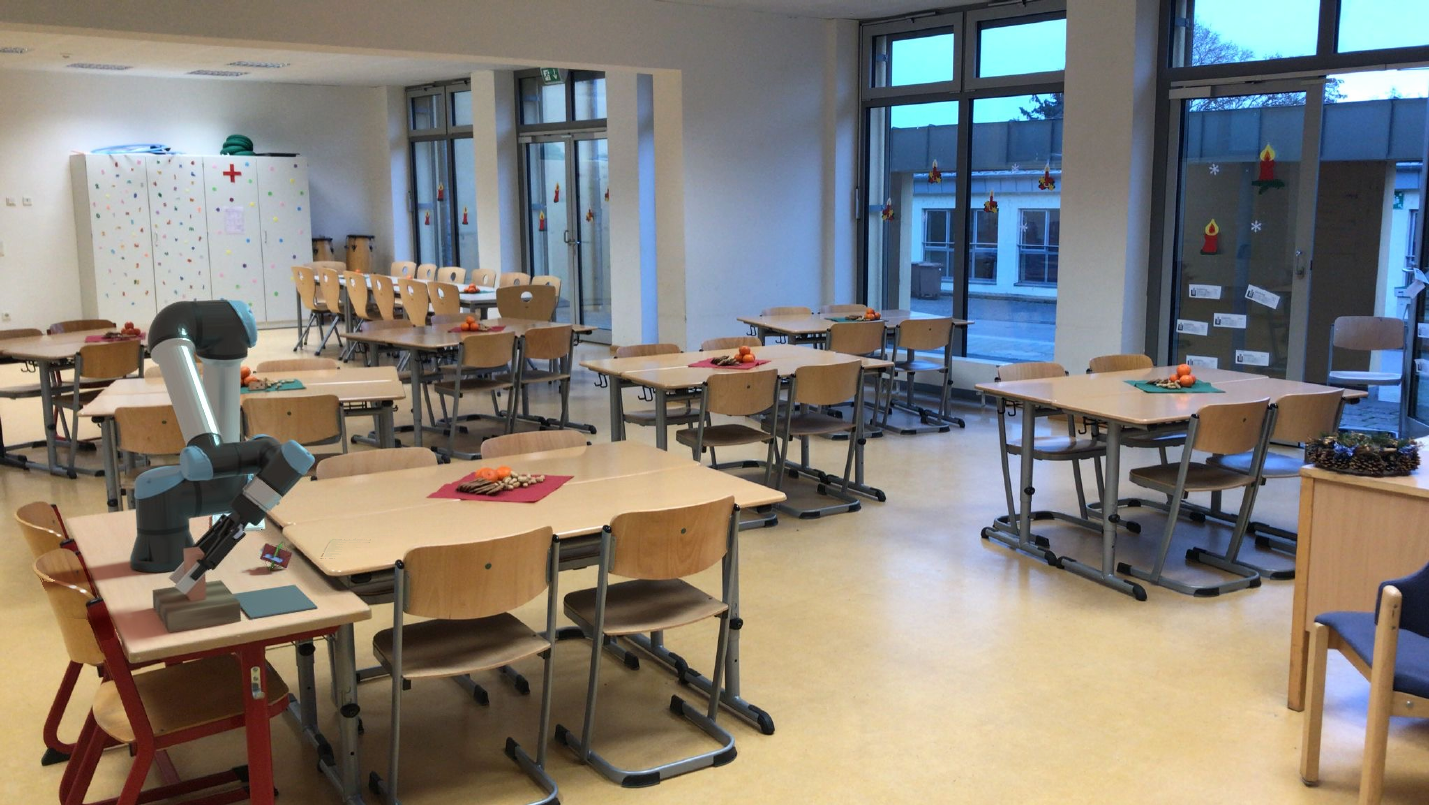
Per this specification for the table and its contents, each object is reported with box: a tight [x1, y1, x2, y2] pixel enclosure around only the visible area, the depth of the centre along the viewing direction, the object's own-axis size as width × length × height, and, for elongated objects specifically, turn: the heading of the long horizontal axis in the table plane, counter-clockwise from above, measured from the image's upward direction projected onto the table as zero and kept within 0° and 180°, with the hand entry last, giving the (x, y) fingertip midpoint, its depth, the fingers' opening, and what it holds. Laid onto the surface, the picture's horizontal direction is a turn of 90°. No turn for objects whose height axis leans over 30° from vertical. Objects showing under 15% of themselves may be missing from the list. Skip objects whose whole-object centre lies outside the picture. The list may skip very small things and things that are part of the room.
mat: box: [232, 584, 318, 620], centre depth 260 cm, size 18×14×1 cm
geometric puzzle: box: [259, 540, 293, 572], centre depth 284 cm, size 7×7×8 cm
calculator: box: [211, 513, 266, 532], centre depth 324 cm, size 13×20×2 cm, turn 23°
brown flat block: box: [152, 579, 242, 633], centre depth 250 cm, size 18×14×4 cm
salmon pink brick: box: [183, 547, 207, 601], centre depth 249 cm, size 6×3×10 cm, turn 35°
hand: (176, 586), depth 248 cm, fingers closed on salmon pink brick, 6 cm apart
